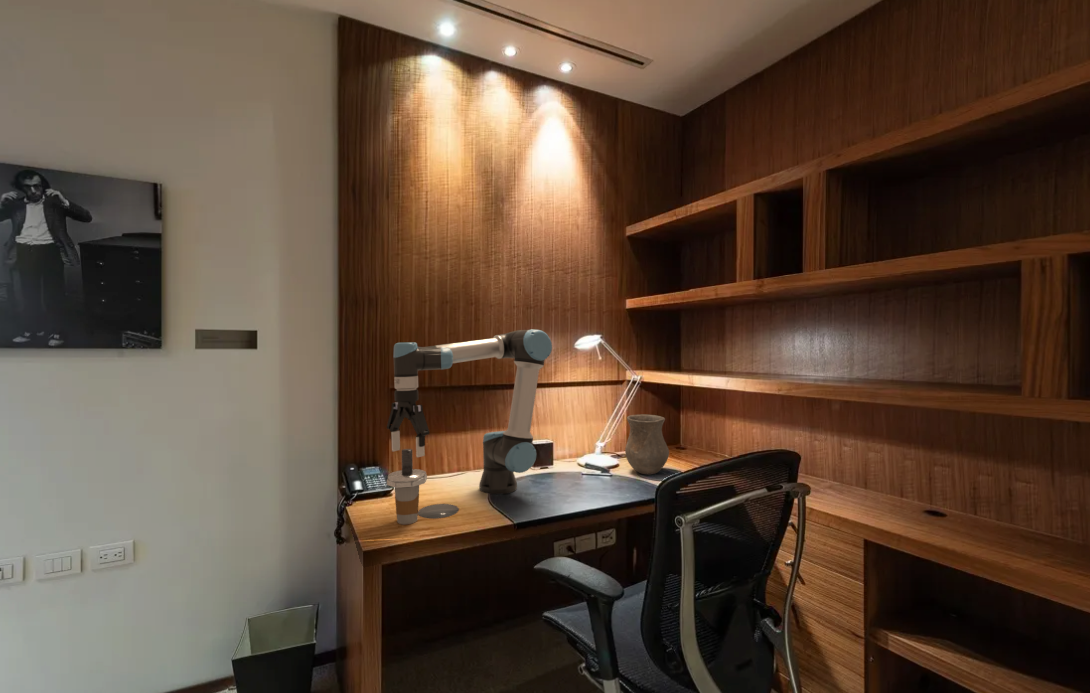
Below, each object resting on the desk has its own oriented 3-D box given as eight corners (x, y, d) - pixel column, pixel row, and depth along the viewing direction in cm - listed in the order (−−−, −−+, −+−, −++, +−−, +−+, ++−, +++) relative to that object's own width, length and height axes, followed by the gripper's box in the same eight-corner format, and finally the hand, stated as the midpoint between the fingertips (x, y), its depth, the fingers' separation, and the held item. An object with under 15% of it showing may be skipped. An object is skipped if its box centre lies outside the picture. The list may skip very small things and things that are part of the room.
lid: (428, 475, 159) (428, 445, 159) (423, 486, 147) (422, 453, 147) (392, 477, 158) (392, 446, 158) (384, 488, 146) (383, 455, 146)
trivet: (460, 504, 169) (460, 502, 169) (457, 518, 155) (457, 517, 155) (421, 506, 168) (421, 504, 168) (414, 520, 154) (414, 519, 154)
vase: (678, 475, 203) (677, 418, 203) (641, 481, 196) (641, 422, 195) (651, 464, 221) (651, 412, 221) (616, 469, 214) (616, 415, 214)
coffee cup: (397, 518, 156) (397, 473, 156) (422, 517, 157) (422, 473, 157) (391, 527, 148) (390, 481, 148) (417, 526, 149) (417, 480, 149)
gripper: (375, 388, 157) (376, 450, 157) (420, 392, 141) (421, 461, 142) (394, 386, 163) (396, 446, 163) (439, 390, 147) (441, 456, 148)
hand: (407, 453), depth 152 cm, fingers open, 13 cm apart
